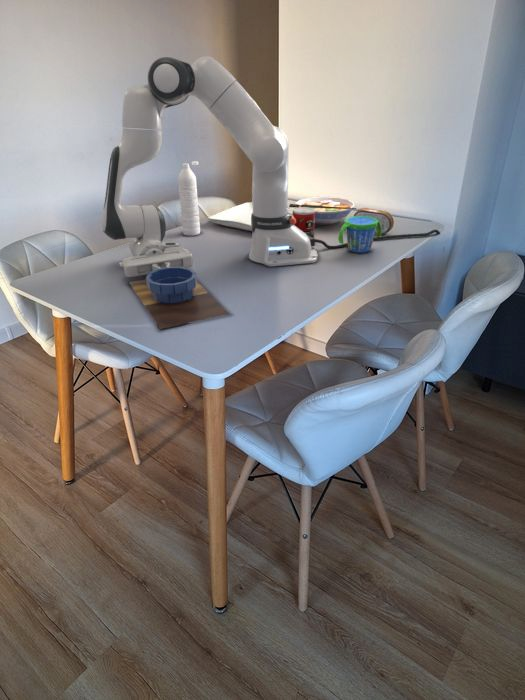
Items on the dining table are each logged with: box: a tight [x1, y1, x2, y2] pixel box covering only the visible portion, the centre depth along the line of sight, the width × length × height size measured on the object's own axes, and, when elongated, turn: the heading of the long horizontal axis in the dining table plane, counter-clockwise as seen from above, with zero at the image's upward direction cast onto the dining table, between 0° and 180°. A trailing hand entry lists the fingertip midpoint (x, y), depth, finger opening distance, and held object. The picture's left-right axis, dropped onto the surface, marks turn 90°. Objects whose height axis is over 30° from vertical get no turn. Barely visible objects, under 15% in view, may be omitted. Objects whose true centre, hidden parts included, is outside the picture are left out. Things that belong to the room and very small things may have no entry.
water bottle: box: [177, 160, 201, 237], centre depth 186 cm, size 9×6×25 cm
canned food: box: [292, 207, 316, 238], centre depth 179 cm, size 8×8×11 cm
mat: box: [144, 292, 230, 331], centre depth 133 cm, size 15×18×1 cm
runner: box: [128, 277, 209, 306], centre depth 146 cm, size 18×18×1 cm
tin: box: [353, 207, 395, 236], centre depth 187 cm, size 15×3×8 cm, turn 58°
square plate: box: [206, 201, 294, 232], centre depth 201 cm, size 27×27×4 cm
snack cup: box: [338, 215, 382, 254], centre depth 170 cm, size 16×10×10 cm
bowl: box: [145, 267, 198, 303], centre depth 139 cm, size 13×13×6 cm
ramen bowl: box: [288, 196, 357, 226], centre depth 199 cm, size 25×23×8 cm
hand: (165, 271), depth 144 cm, fingers closed
